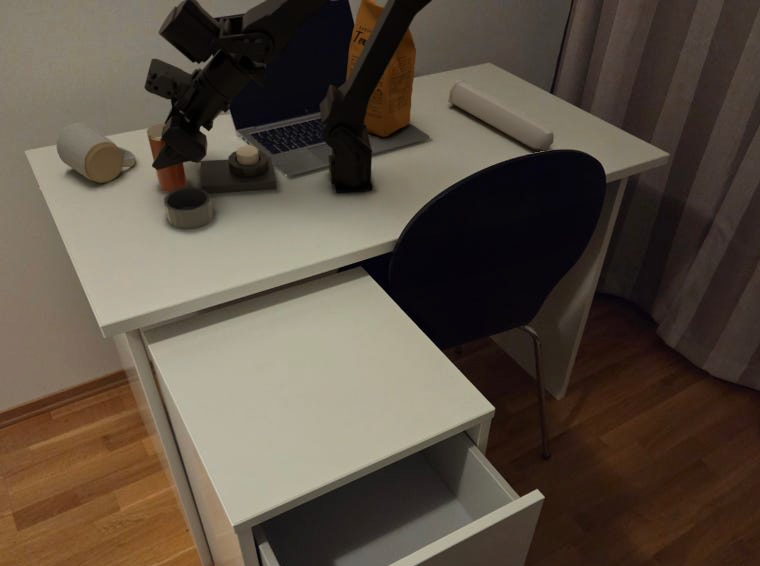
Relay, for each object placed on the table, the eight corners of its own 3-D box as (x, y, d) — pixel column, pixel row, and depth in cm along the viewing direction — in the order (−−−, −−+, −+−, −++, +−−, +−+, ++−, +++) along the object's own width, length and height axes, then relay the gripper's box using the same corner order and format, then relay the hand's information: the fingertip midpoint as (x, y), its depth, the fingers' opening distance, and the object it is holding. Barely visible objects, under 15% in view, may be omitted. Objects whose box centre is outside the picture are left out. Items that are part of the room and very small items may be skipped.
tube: (563, 129, 120) (470, 80, 132) (548, 128, 117) (453, 77, 129) (551, 156, 123) (460, 106, 135) (536, 156, 120) (444, 104, 131)
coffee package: (374, 104, 131) (378, -15, 115) (417, 127, 126) (427, 6, 110) (337, 117, 126) (336, -4, 110) (380, 142, 121) (385, 18, 105)
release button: (258, 154, 109) (257, 144, 108) (259, 165, 107) (258, 155, 105) (236, 155, 108) (235, 146, 107) (238, 166, 106) (236, 157, 105)
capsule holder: (212, 204, 103) (209, 185, 101) (213, 229, 99) (210, 209, 96) (168, 207, 102) (164, 188, 100) (168, 232, 98) (163, 213, 95)
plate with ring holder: (271, 165, 113) (270, 147, 110) (276, 191, 107) (274, 172, 105) (201, 170, 110) (198, 151, 108) (203, 196, 105) (199, 177, 102)
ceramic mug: (93, 192, 104) (79, 148, 98) (63, 173, 107) (49, 130, 101) (148, 168, 110) (138, 126, 104) (118, 151, 113) (107, 109, 107)
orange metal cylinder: (191, 181, 108) (180, 125, 100) (182, 195, 105) (170, 138, 97) (165, 178, 108) (152, 122, 100) (156, 192, 105) (142, 135, 97)
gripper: (177, 19, 96) (119, 91, 103) (164, 71, 84) (100, 149, 90) (237, 71, 103) (179, 136, 110) (233, 127, 91) (169, 196, 97)
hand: (157, 152), depth 101 cm, fingers open, 9 cm apart
